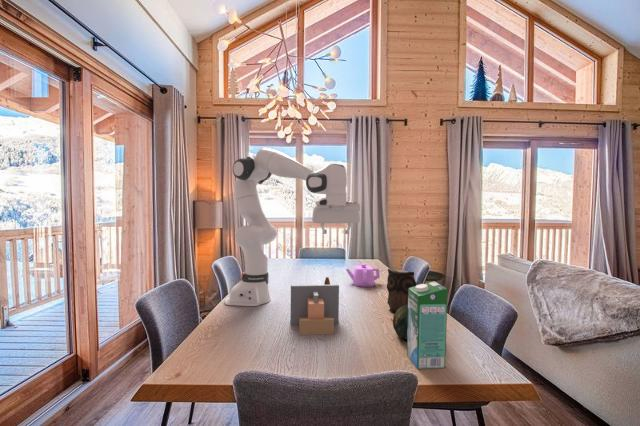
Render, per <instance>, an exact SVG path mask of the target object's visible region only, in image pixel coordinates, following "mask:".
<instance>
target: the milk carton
mask: <svg viewBox="0 0 640 426" xmlns="http://www.w3.org/2000/svg"><path fill="white" fill-rule="evenodd" d="M447 318H448V288H447V287H445V286H443V285H442V284H440V283H439V282H436V281H435V280H434V281H430V282H426V283H418V284H417V285H416V286H415V287H411V288H409V289H408V332H407V339H406V340H407V343H406V346H407V347H406V356H407V357H408V358H409V359H410V361H411V362H412V364H413V365H414V366H415V368H416V369H418V370H421V369H422V370H423V369H424V370H425V369H427V370H428V369H445V368H446V359H447V358H446V357H447V354H446V353H447V321H448V319H447Z"/></svg>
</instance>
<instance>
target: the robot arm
mask: <svg viewBox="0 0 640 426" xmlns="http://www.w3.org/2000/svg"><path fill="white" fill-rule="evenodd" d="M232 174H233V175H234V177H235V178H236V180H235V182H234V192H235V198H236V202H237V203H236V204H237V208H238V211H239V215H240V217H241V218H243V219H244V220H245V221H246V222H247V223H248V224H245V225H243V226H240V227H239V228H237V229H236V230H235V232H234V239H235V242H236V244H237V245H238V246H239V247H240V248H241V250H242V253H243V255H244V260H245V261H244V262H245V267H244V268H245V271H243V272H241V275H240V276H241V277H240V278H241V280H240V281H239V282H238V283H236V284H235V285H234V286H232V288H231V289H230V292H229V296H228V295H227V297H226V298H225V300H224V304H225V306H235V307H236V306H243V307H257V306H259V305H260V306H261V305H264V304H267V303H269V302H270V301H271V295H270V290H269V282H270V280H269V279H270V278H269V276H270V275H269V271H268V265H269V263H268V262H269V261H268V256H267V255H266V254H264V251H263V245H268V244H270V243H271V242H273V241H275V239H276V238H277V234H278V233H277V229H276V227H275V226H274V225H273V224H272V223H271V222H269V220H268V218H267V216H266V215H265V212H264V211H263V209H262V205H261V201H260V197H259V194H258V191H257V185H262V184H264V182H266V181H267V180H269V179H270V178H271V176H272V175H274V176H277V177H281V178H287V179H288V178H289V179H298V180H303V181H305V187H306V188H307V191H308V192H310V193H312V194H318V195H319V194H320V195H325V197H322V198H320V199H317V200H315V201H314V202H315V206H314V207H313V210H312V219H311V220H312V222H313V224H320V227H321V230H322V234H323V235H327V232H328V231H327V229H325V227H324V226H325V224H346V225H347V227H346V229H344V235H349V231H350V229H351V228H352V224H359V223H360V220H361V219H360V218H361V217H360V210H361V205H360V203H359V202H357V201H347V199H348V198H347V197H348V196H347V184H348V180H347V175H348V174H347V169H346V166H344V165H343V164H339V163H334V162H329V163H327V165H325V166H324V167H323V168H321V169H319V170H315V169H312V168H311V167H308V166H306V165H304V164H302V163H300V162H299V161H297V160H295V159H294V158H292V157H290V156H289V155H287V154H285V153H284V152H281V151H278V150H276V149H272V148H268V147H262V148H260V149H258V151H257V152H256V154H255V156H254V157H251V156H246V157H242V158H238V159H237V160H235V161H234V163H233V164H232Z"/></svg>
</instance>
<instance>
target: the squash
mask: <svg viewBox="0 0 640 426" xmlns="http://www.w3.org/2000/svg"><path fill="white" fill-rule="evenodd" d="M392 326H393V327H392V328H393V329H394V331H395V334H396V335H397V336H398V337H399V338H400V339H403V340H404V339H405V340H407V332H408V305H405V306H402V307H401V308H399V309H398V310H397V311H396V313H395V314H394V315H393V317H392Z"/></svg>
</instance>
